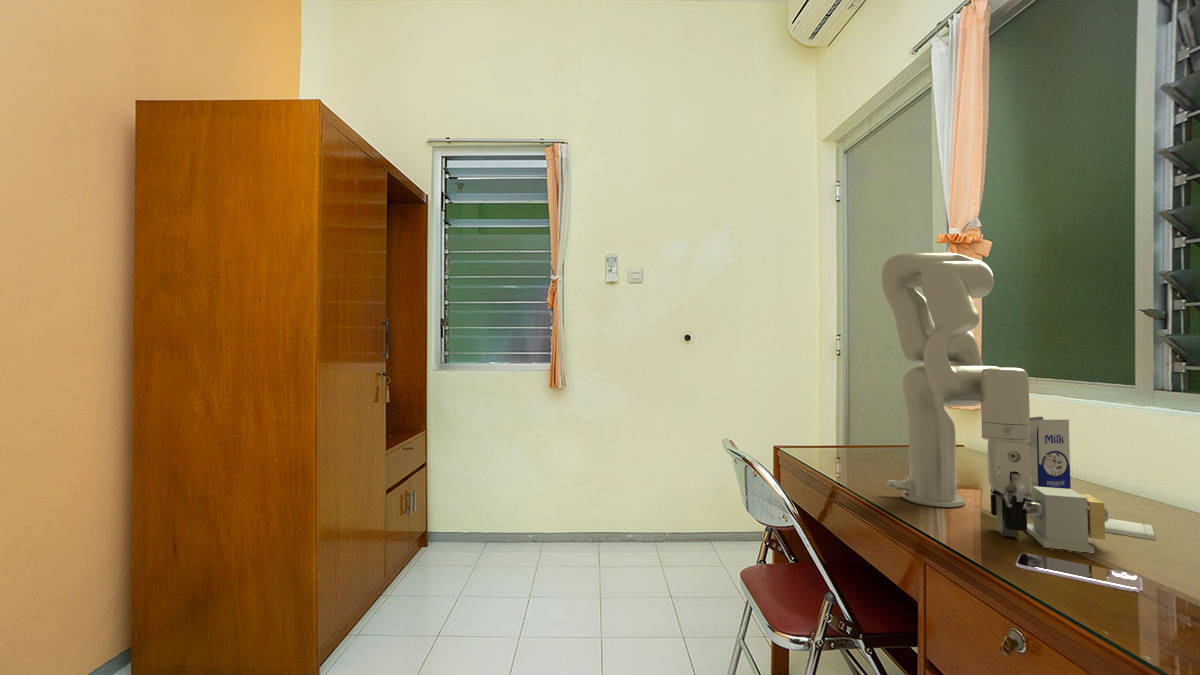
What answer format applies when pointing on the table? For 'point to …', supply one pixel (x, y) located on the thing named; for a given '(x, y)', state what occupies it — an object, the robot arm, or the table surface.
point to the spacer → (1095, 517)
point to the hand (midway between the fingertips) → (1008, 522)
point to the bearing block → (1061, 519)
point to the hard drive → (1129, 529)
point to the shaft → (1032, 509)
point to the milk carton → (1049, 454)
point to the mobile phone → (1081, 572)
